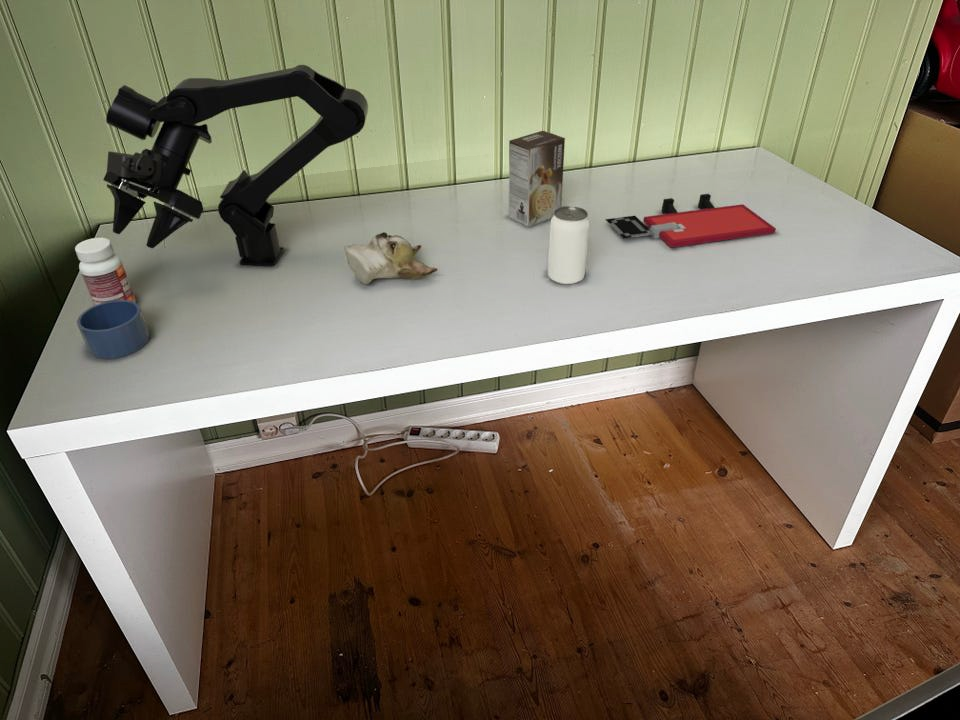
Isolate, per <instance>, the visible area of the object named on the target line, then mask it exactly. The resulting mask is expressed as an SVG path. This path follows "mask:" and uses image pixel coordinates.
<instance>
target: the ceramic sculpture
mask: <svg viewBox="0 0 960 720" xmlns="http://www.w3.org/2000/svg"><path fill="white" fill-rule="evenodd" d="M421 248H422V245H421V244H418V245H415V246H412V245H411V243H410V242H409V241H408V240H407V239H405V238H404V237H403V236H401V235H398V234H395V235H391V234H388V233H387V232H383V231H382V232H381V233H377V234H376V235H375V236H373V237H372V238H371V240H370V242H369V243H368V244H365V245H357V244H351V245H345V246H344V252H345V257H346V261H347V264H348V266H349V268H350V269H351V271H352V272H353V274H354V276H355V279H356V280H357V281H359V282H360V283H362V284H363V285H366V286H367V285H369V284H370V283H371V282H372V281H373V280H374V279H396V278H397V279H398V278H405V279H411V280H418V279H421V278H424V277H427V276H429V275H431V274H433V273H435V272H437V271H438V268H436V267H431V266H428V265H426V264H425V263H423V262H419V261H415V260H414V257H415V256H416V255H417V254H418V253H419V251H420V250H421Z"/></svg>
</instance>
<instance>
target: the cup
mask: <svg viewBox="0 0 960 720" xmlns="http://www.w3.org/2000/svg"><path fill="white" fill-rule="evenodd" d="M76 324H77V328H78V330H79V332H80V334H81V336H82V339H83V341H84V343H85V346H86V348H87V350H88V352H89V353H90V355H91V356H92V357H95V358H97V359H102V360H112V359H119V358H123V357H126V356H129V355H132V354H135V353H136V352H138V351H139V350H141V349H142V348H144V347H145V346H146V345H147V343H148V342H149V340H150V331H149V328H148V326H147V323H146V320H145V318H144V314H143V312H142V309H141V307H140V305H139V304H138V303H137V302H136V301H135V302H133V301H129V300H113V301H107V302H104V303H100V304H97V305H95V306H94V305H92V306H91V307H89V308H87V309H86V310H84V311H83V312H82V313H81V314H79V316H78V318H77V320H76Z"/></svg>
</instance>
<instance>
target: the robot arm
mask: <svg viewBox="0 0 960 720" xmlns="http://www.w3.org/2000/svg"><path fill="white" fill-rule="evenodd" d="M296 97H297V98H299V99H300V100H302V101H303V102H305V103H306V104H307V105H308V106H309V107H310V108H311V109H313V111H315V113H317V114H318V115H319V118H318V119H317V121H316V122H315V123H314V124H313V125H312V126H311V127H310V128H309V129H307V130H306V131H305V132H304V133H303V134H301V135H300V136H298V138H297V139H296V140H294V141H293V142H292V143H291V144H290V145H289V146H288V147H286V148H285V149H284V150H282V152H280V153H279V154H277V156H276V157H274V159H272V160H271V161H270V162H269V163H267V165H265V166H264V167H263V168H262V169H261V170H259V171H258V172H257V173H253V174H250V175H249V174H248V172H247V171H246V169H243V170H242V171H241V172H240V174H239V175H238V176H237V177H236V178H235V179H232V180H230V181H228V183H227V185H226V187H225V188H224V190H223V191H222V193H221V194H220V196H219V198H220V199H221V200H220V202H219V203H218V206H217V210H218V215H219V217H220V219H221V220H222V221H223V222H224V223H226V224H227V225H228V226H229V227H230V229H231V231H232V232H233V233H234V236H235V243H236V247H237V250H238V254H239V255H238V256H239V257H240V260H239V261H238V262H239V265H240V266H259V267H260V266H262V267H273V266H275V265H276V264H277V262H278V261H279V259H280V257H281V256H282V255H283V253H284V251H285V247H283V246H280V240H279V237H278V231H277V227H276V223H274V222H273V223H272V222H271V220H272V218H274V214H275V213H274V212H275V206H274V205H272V203H270V202H269V201H267V200H268V199H269V198H270V196H271V195H273V194H274V193H275V192H276V191H277V190H278V189H280V188H281V187H282V186H283V185H285V183H287V182H289V180H291V178H292V177H294V176H295V175H296V174H298V173H299V172H300V171H301V170H302V169H304V168H305V167H306V166H307V165H308V164H309V163H310V162H312V161H313V160H314V159H316V158H317V157H318V156H319V155H320V154H321V153H323V152H324V151H325V150H326V149H327V148H329V147H332V146H335V145H337V144H340V143H343V142H345V141H347V140H348V139H350V138H352V137H354V136H355V135H358V134H359V133H360V132H361V131H362V130H363V129H364V127H365V124H366V120H367V116H368V113H369V103H368V100H367V98H366V97H365V95H364V94H363V93H361V91H359V90H357V89H354V88H347V87H345V86H344V85H342V84H341V83H339V82H338V81H336V80H334V79H331V78H329V77H327V76H325V75H322V73H321V74H320V73H319V72H317V71H316V70H314V69H313V68H312V67H310V66H309V65H306V64H298V65H296V66H294V67H290V68H285V69H279V70H274V71H268V72H264V73H259V74H253V75H248V76H243V77H236V78H232V79H216V78H209V77H189V78H185V79H183V80H182V81H180V82H179V83H178V84H177V85H176V86H175V87H174V88H172V89H171V91H169V92H168V95H166V96H165V95H164V96H162V97H161V98H160V99H159V100H158V101H155V100H153V99H151V98H149V97H147V96H145V95H143V94H141V93H140V92H137V91H136V90H135V89H133V88H132V87H130V86H128V85H126V84H123V85H122V86H120V88H118V90H117V94H116V96H115V97H114V99H113V101H112V103H111V105H110V107H109V108H108V109H107V112H106V118H105V123H106V124H108V125H110V126H111V127H114V128H115V129H118V130H120V131H122V132H124V133H126V134H128V135H130V136H133V137H134V138H137V139H139V140H141V141H146V139H147V138H148V137H149V138H150V139H153V138H154V137H156V138H155V141H154V142H153V145H152V147H151V149H149V148H144V149H142V150H141V153H140V152H134V153H133V154H132V153H125V152H124V153H123V152H117V151H110V150H108V151H107V163H106V172H105V175H104V177H103V179H102V181H103V182H106V188H107V189H109V190H110V193H111V194H112V197H113V200H114V202H113V203H114V204H113V205H114V207H113V208H114V209H113V219H112V220H113V221H112V222H113V223H112V233H114V234H116V235H121V233H123V231H124V230H126V228H127V227H128V225H129V224H130V223H131V222H132V220H134V218H135V217H136V215H137V214H138V213H139V212H140V211H141V209H142V208H143V207H144V205H145V204H146V201H144V199H145V198H147V197H149V198H152V199H155V200H158V201H159V202H160V203H159V202H157V201H153V206H154V210H155V217H154V220H153V223H152V226H151V228H150V231H149V234H148V237H147V240H146V245H145V246H146V247H148V248H150V249H154V248H156V247H157V246H159V244H160V243H162V242H164V241H165V240H166V239H167V238H168V237H169V236H171V235H172V234H173V233H174V232H176V231H177V230H179V229H180V228H182V227H183V226H185V225H186V224H188V223H189V222H190V223H192V222H193V221H194V219H196V220H200V219H201V216H202V214H203V212H204V210H205V209H204V206H203V205H204V204H203V202H202V201H201V200H199V199H197V198H195V197H194V196H191V195H190V194H188V193H186V192H185V191H183V190H180V189H178V187H179V184H180V182H181V181H182V178H183V176H184V175H185V176H190V174H191V172H192V169H190V168H188V164H189V163H190V160H191V157H192V156H193V153H194V150H195V148H196V147H197V144H198V142H199V140H201V141H203V142H205V143H208V144H212V143H213V140H212V136H211V134H210V132H209V127H208V124H207V123H204V124H200V125H197V124H199V123H202V122H205V121H207V120H209V119H212V118H214V117H216V116H218V115H220V114H222V113H223V112H226V111H229V110H231V109H237V108H243V107H247V106H252V105H259V104H264V103H270V102H274V101H279V100H285V99H291V98H296ZM161 123H162V125H161ZM160 126H161V127H160ZM159 127H160V128H159ZM158 130H159V131H158ZM156 134H157V136H155V135H156ZM162 203H163V204H162Z"/></svg>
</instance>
